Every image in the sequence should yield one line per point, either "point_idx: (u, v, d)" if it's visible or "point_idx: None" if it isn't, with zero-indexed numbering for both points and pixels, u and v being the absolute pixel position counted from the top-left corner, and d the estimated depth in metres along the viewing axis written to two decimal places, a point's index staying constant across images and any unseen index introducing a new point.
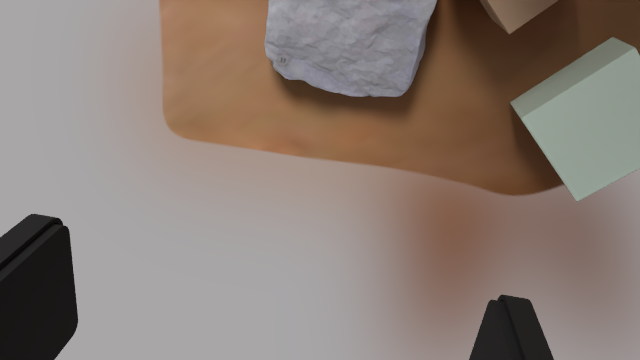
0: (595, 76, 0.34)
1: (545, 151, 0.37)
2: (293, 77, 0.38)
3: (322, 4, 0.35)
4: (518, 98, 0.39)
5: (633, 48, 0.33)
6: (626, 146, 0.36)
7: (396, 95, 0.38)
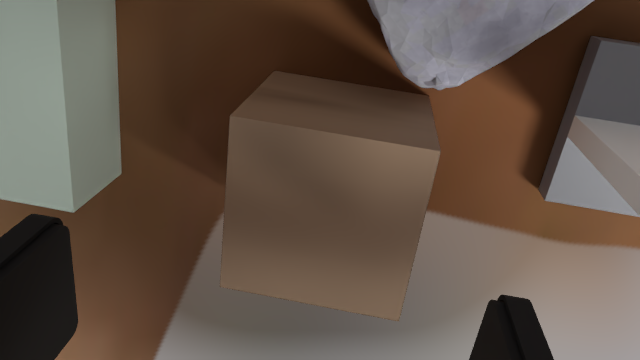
0: (60, 143, 0.18)
1: None
2: None
3: None
4: (111, 0, 0.20)
5: (74, 209, 0.20)
6: None
7: None
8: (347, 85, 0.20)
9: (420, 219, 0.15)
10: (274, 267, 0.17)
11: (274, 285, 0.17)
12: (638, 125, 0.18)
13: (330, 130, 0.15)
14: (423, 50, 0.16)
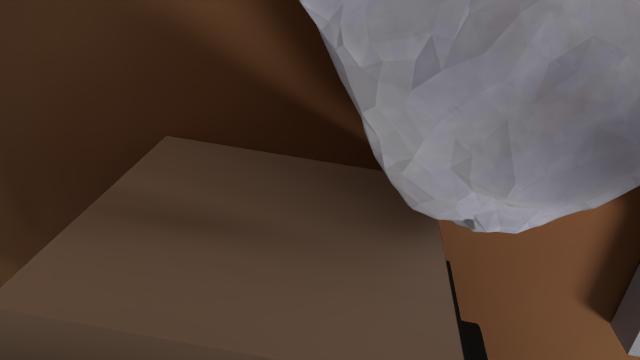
0: None
1: None
2: None
3: None
4: None
5: None
6: None
7: None
8: (288, 165, 0.11)
9: None
10: None
11: None
12: None
13: (215, 336, 0.06)
14: (450, 177, 0.07)
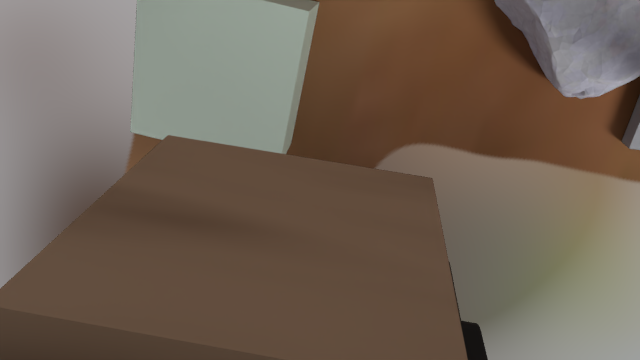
0: (282, 118, 0.26)
1: None
2: None
3: None
4: (315, 16, 0.27)
5: None
6: (173, 79, 0.26)
7: None
8: (290, 164, 0.11)
9: None
10: None
11: None
12: None
13: (217, 335, 0.06)
14: (580, 73, 0.23)
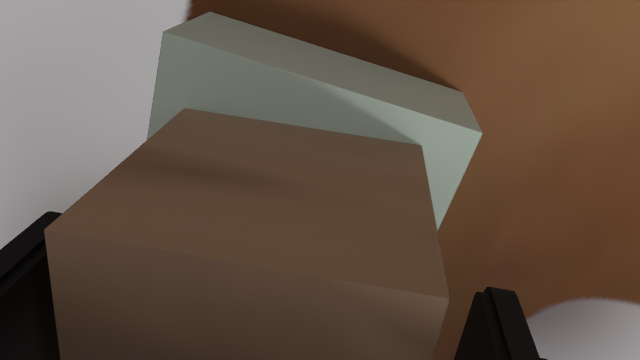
0: None
1: (356, 98, 0.12)
2: None
3: None
4: None
5: None
6: None
7: None
8: (294, 133, 0.12)
9: None
10: None
11: None
12: None
13: (238, 254, 0.08)
14: None
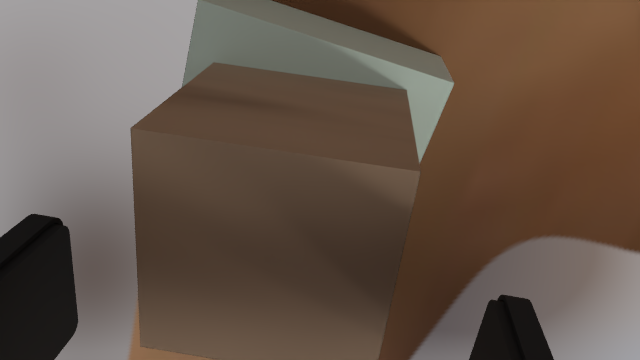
0: None
1: (353, 54, 0.16)
2: None
3: None
4: None
5: None
6: None
7: None
8: (304, 79, 0.15)
9: (396, 260, 0.11)
10: (208, 322, 0.13)
11: (210, 344, 0.13)
12: None
13: (270, 145, 0.11)
14: None
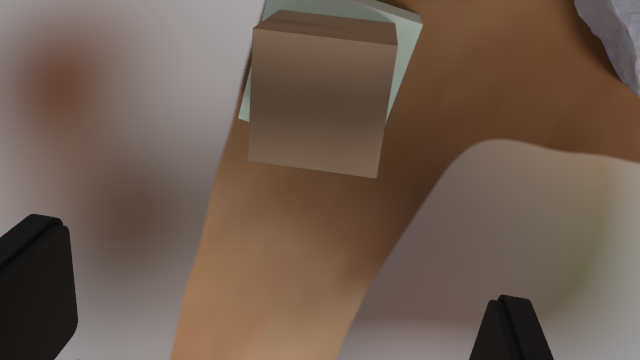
0: None
1: (363, 7, 0.26)
2: None
3: None
4: None
5: None
6: None
7: None
8: (334, 17, 0.26)
9: (387, 97, 0.22)
10: (286, 142, 0.23)
11: (286, 156, 0.24)
12: None
13: (322, 35, 0.21)
14: None
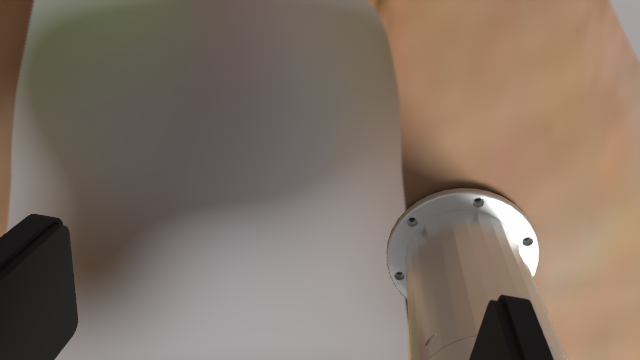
0: None
1: None
2: None
3: None
4: None
5: None
6: None
7: None
8: None
9: None
10: None
11: None
12: None
13: None
14: None
